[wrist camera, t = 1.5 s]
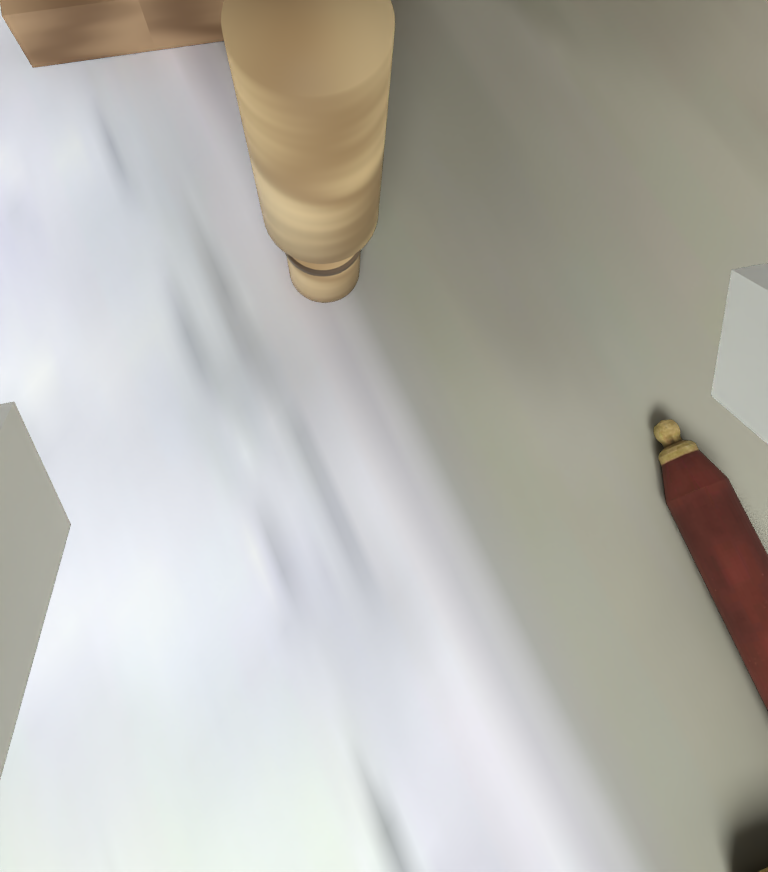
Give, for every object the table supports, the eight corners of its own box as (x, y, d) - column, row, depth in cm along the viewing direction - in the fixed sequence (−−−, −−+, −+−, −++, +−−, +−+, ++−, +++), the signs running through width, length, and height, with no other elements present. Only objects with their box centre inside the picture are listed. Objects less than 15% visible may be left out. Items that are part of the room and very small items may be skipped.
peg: (362, 218, 32) (375, -63, 18) (382, 306, 31) (411, 81, 17) (267, 234, 31) (208, -42, 18) (285, 323, 30) (236, 107, 17)
